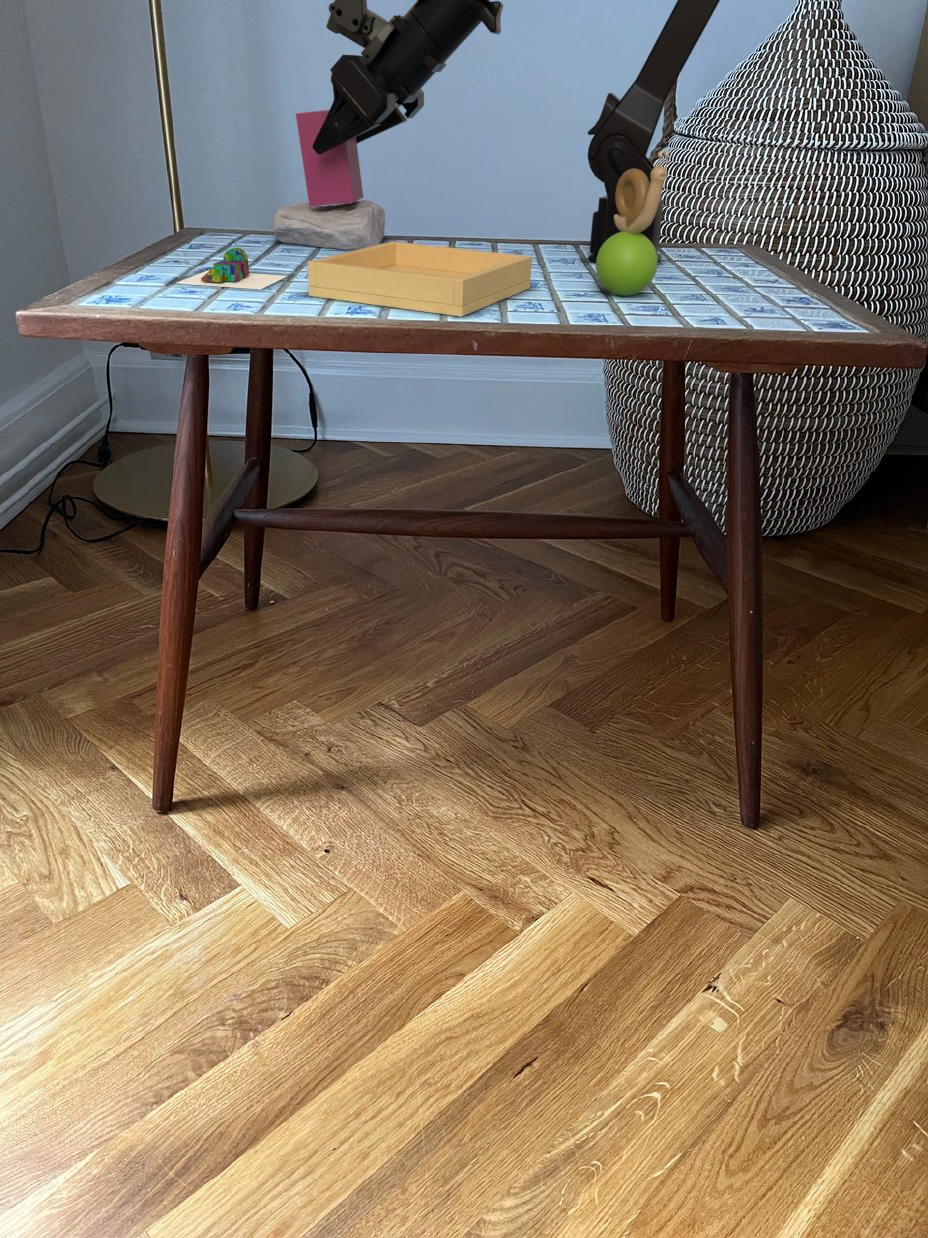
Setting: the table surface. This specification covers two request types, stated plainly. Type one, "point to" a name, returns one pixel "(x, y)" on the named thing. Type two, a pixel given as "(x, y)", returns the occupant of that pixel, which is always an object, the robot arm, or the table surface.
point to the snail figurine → (632, 233)
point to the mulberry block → (328, 165)
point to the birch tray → (420, 277)
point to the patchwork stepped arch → (233, 273)
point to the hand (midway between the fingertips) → (328, 148)
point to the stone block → (331, 225)
